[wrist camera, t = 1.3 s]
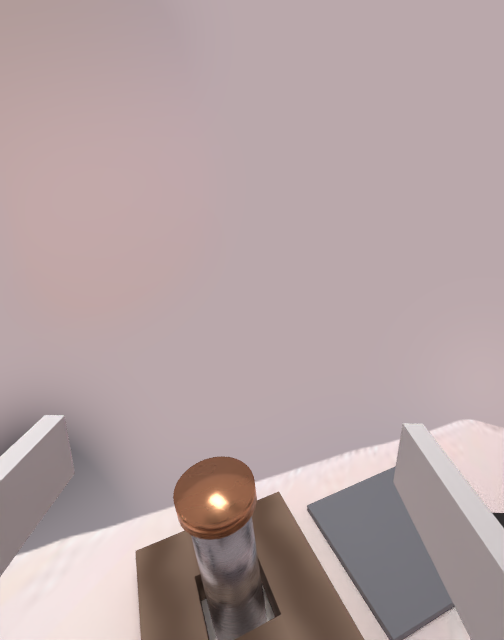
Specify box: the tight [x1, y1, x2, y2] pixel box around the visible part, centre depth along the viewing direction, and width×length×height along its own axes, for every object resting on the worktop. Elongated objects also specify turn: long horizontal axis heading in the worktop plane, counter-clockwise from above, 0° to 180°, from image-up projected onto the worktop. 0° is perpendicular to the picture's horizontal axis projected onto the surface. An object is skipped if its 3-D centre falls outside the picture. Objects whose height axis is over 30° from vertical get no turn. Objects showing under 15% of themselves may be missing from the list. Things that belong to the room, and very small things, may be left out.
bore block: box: [136, 492, 364, 640], centre depth 30 cm, size 16×16×4 cm
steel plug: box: [173, 457, 266, 640], centre depth 28 cm, size 6×6×16 cm
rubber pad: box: [307, 466, 454, 640], centre depth 36 cm, size 14×14×1 cm
